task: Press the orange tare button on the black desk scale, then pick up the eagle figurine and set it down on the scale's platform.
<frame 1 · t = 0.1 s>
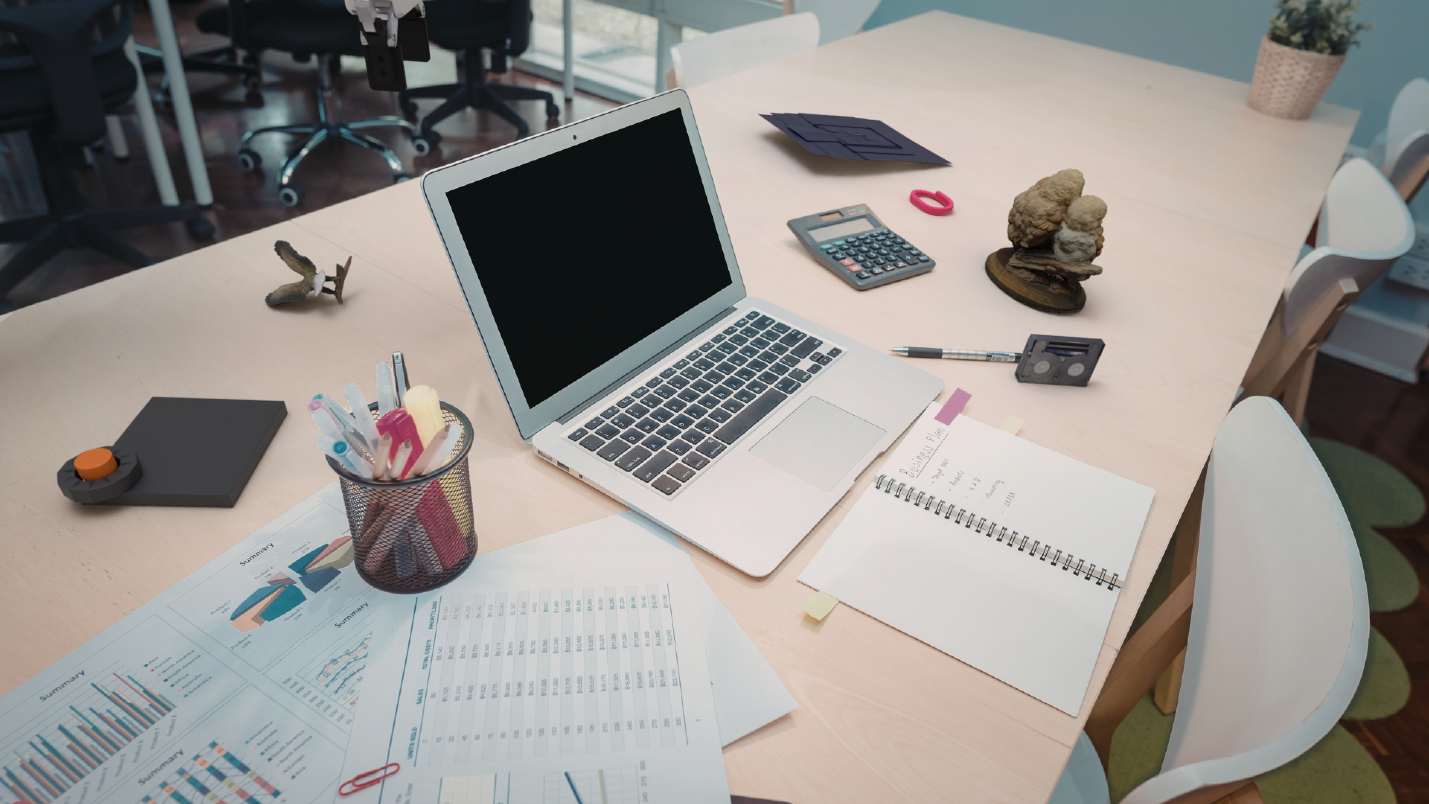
hand: (402, 74, 78), 27 cm above the table, tool pointing down, fingers open, 9 cm apart
tare button: (96, 464, 67), point 3 cm above the table, slide at 0.2 cm
mini dv tape: (1049, 382, 95), on the table
eagle figurine: (310, 300, 96), on the table
navy patterned tile: (849, 150, 152), on the table
scale: (193, 456, 73), on the table
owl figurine: (1034, 287, 114), on the table
fitness band: (930, 206, 134), on the table
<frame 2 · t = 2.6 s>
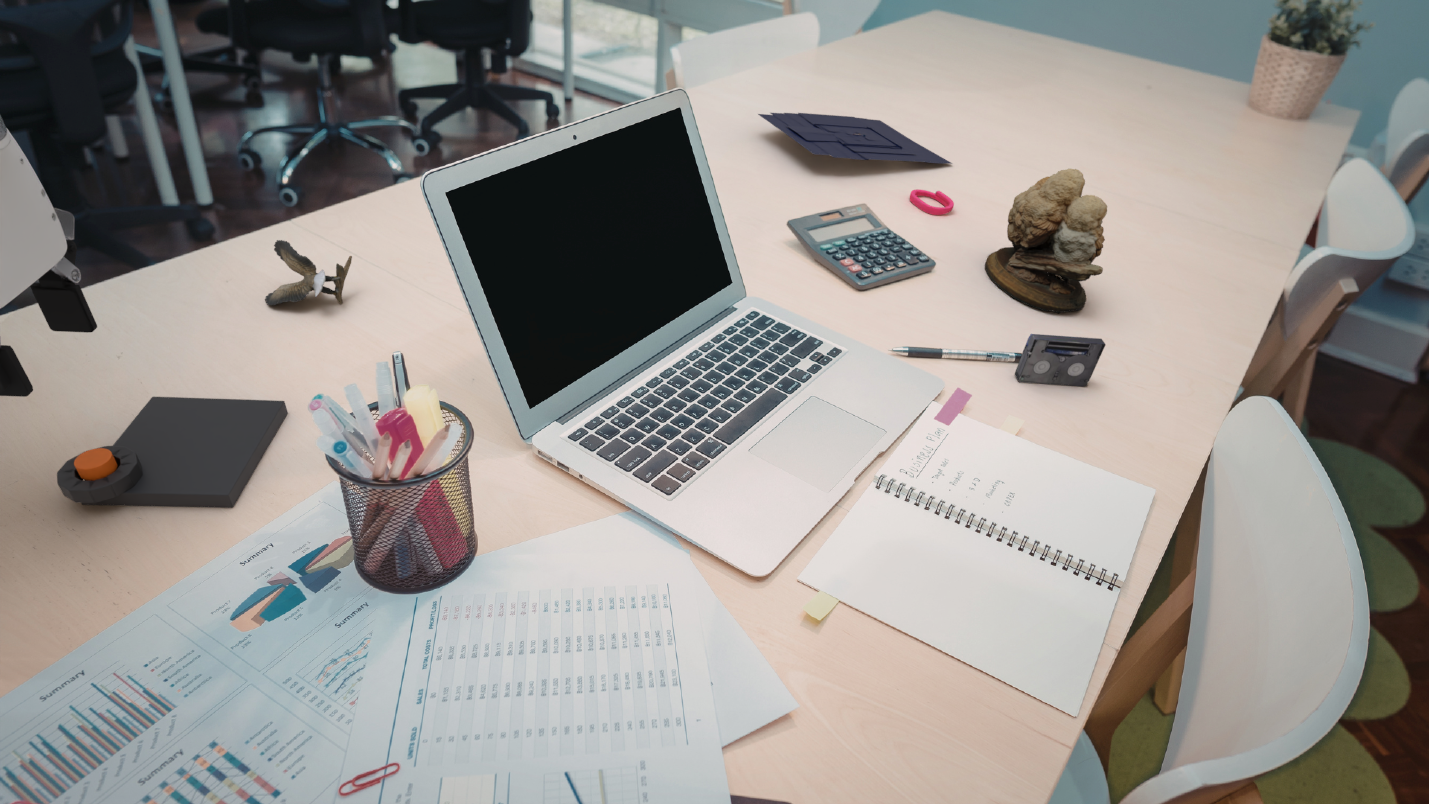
hand: (43, 358, 60), 14 cm above the table, tool pointing down, fingers open, 7 cm apart
nothing on the table moved.
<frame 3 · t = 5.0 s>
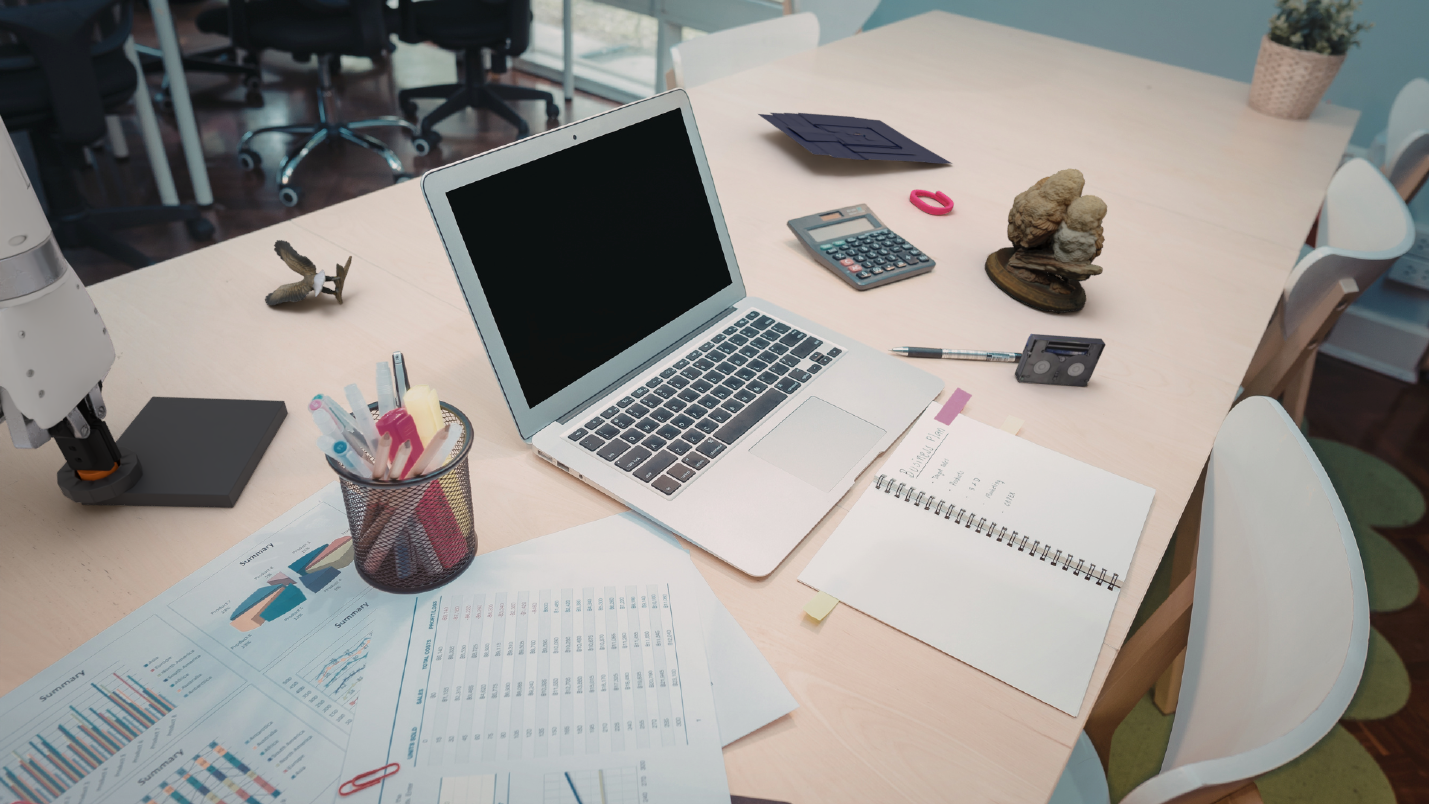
hand: (97, 463, 67), 3 cm above the table, tool pointing down, fingers closed
tare button: (98, 469, 67), point 3 cm above the table, slide at -0.4 cm, touching gripper
everything else where it was.
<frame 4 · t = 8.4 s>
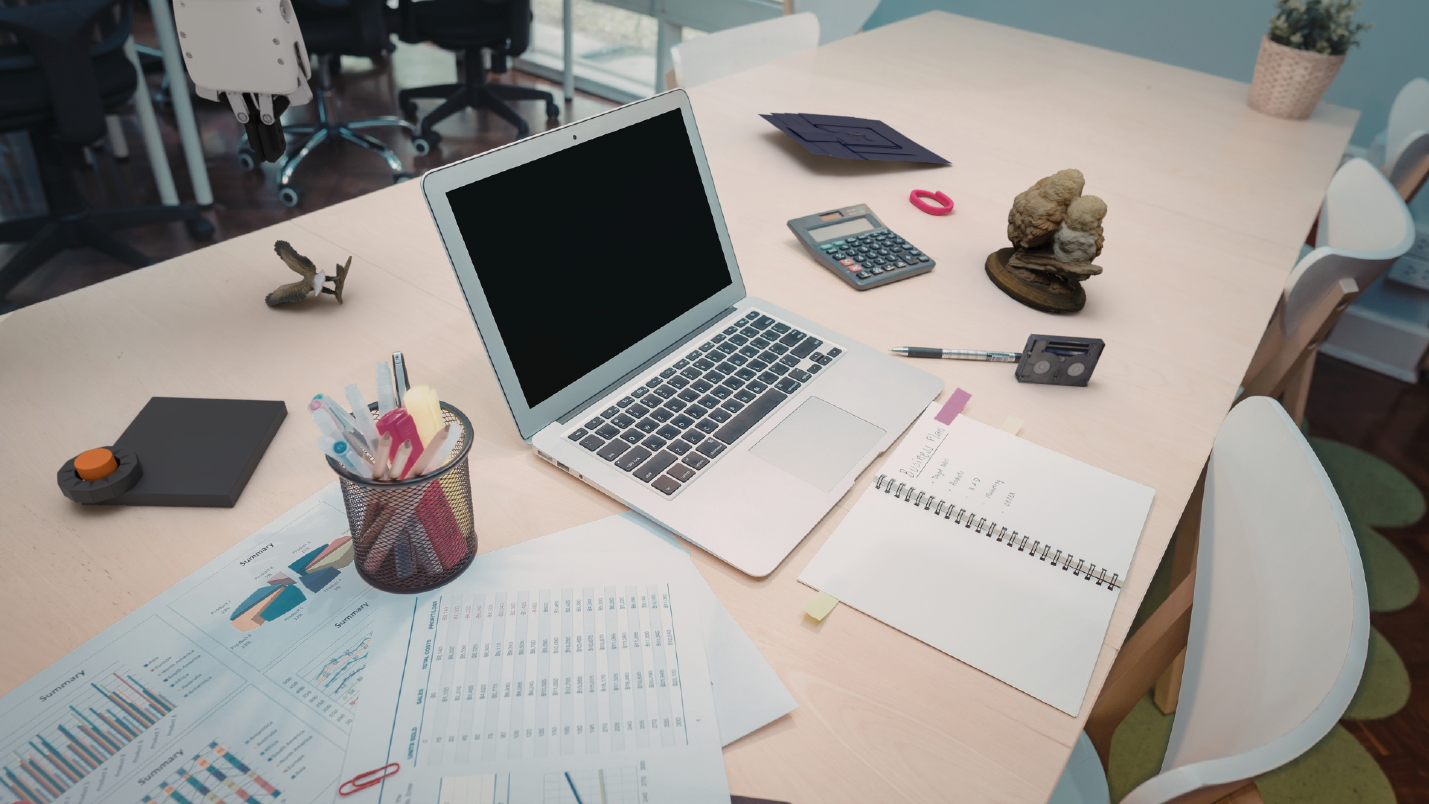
hand: (271, 157, 84), 17 cm above the table, tool pointing down, fingers closed
tare button: (96, 464, 67), point 3 cm above the table, slide at 0.1 cm
everything else where it was.
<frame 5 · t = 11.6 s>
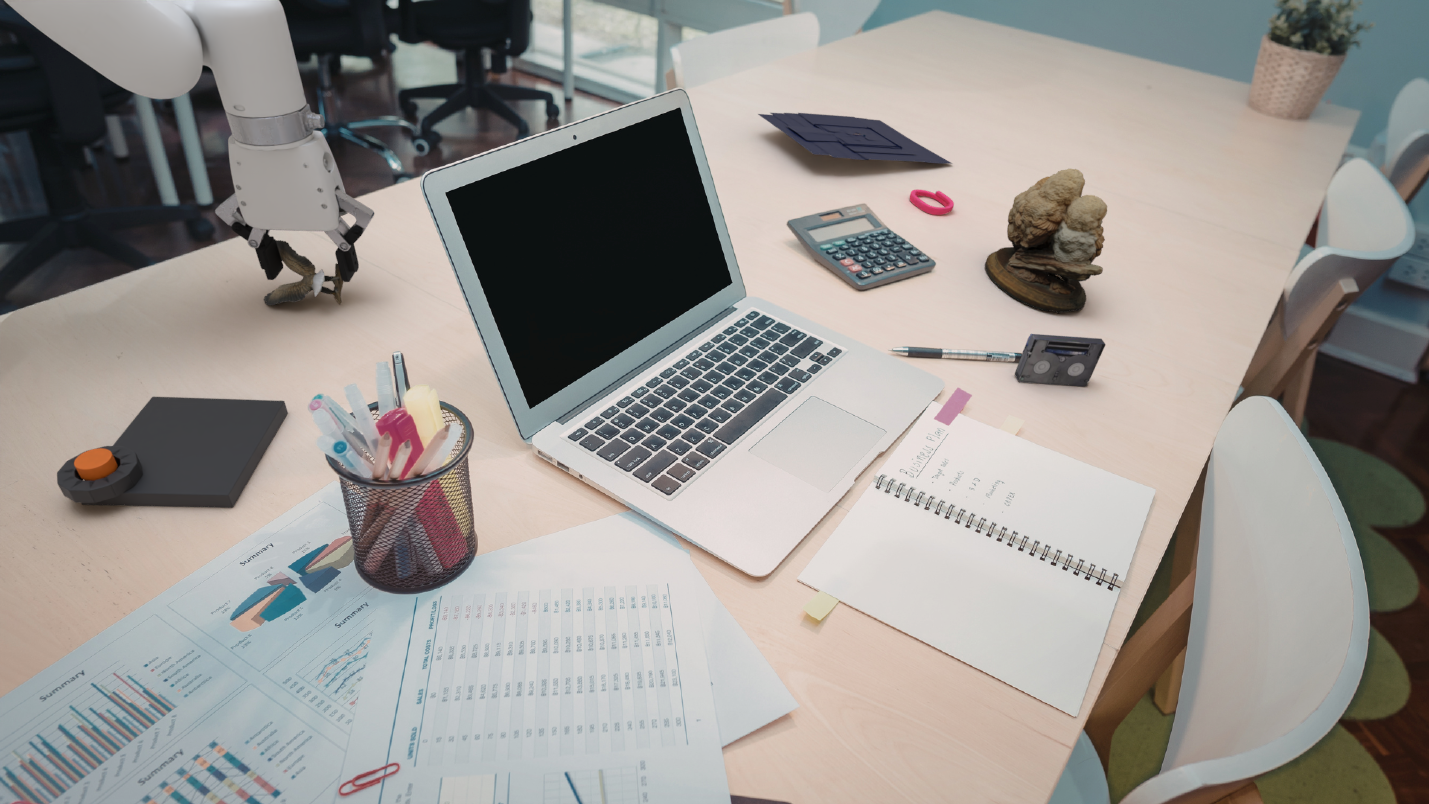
hand: (312, 274, 94), 3 cm above the table, tool pointing down, fingers closed on eagle figurine, 7 cm apart
eagle figurine: (308, 300, 96), on the table, touching gripper
everything else where it was.
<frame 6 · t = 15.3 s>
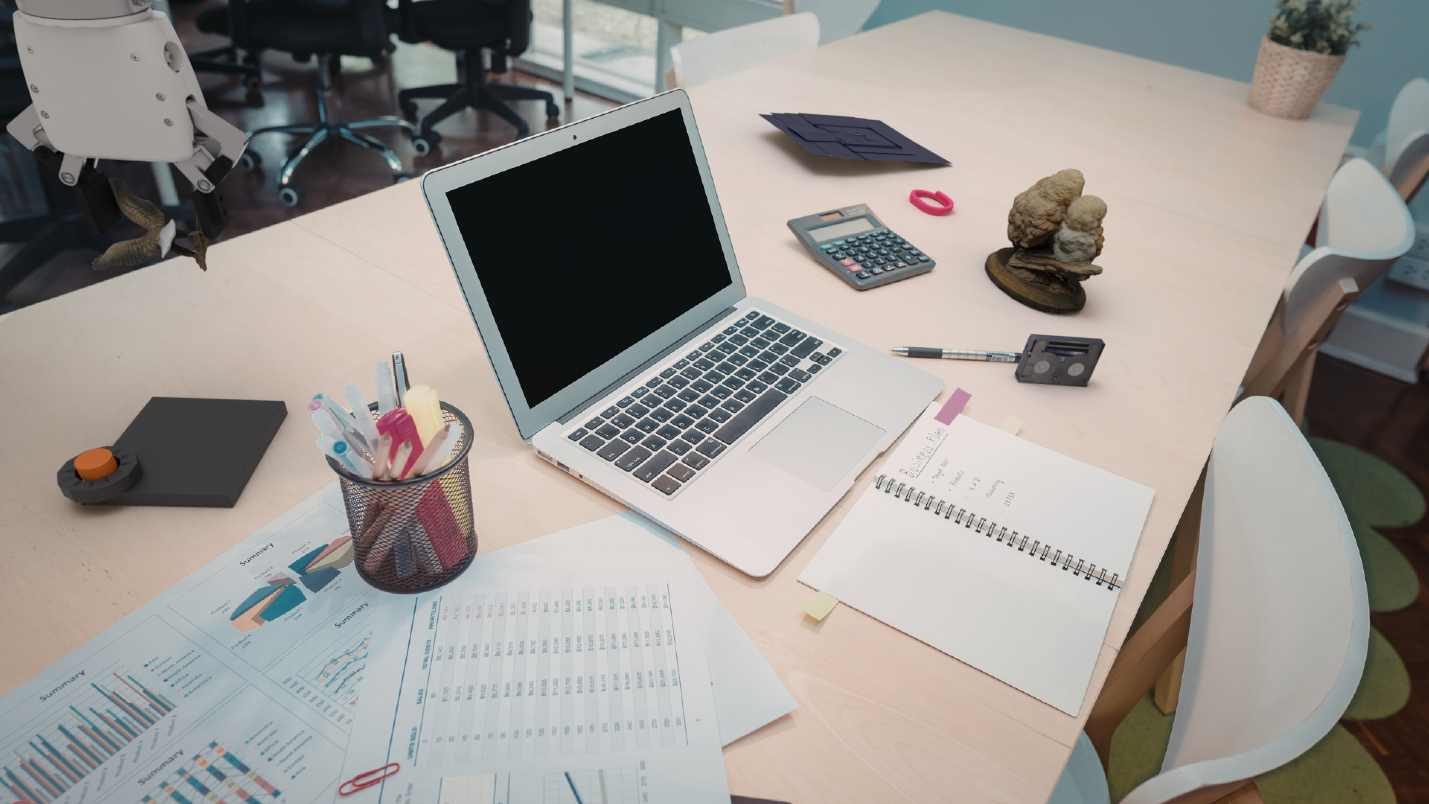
hand: (163, 228, 66), 20 cm above the table, tool pointing down, fingers closed on eagle figurine, 7 cm apart
eagle figurine: (160, 265, 68), point 16 cm above the table, touching gripper
everything else where it was.
when the fingers open (6 cm above the table, at t = 19.4 s): eagle figurine stays where it is, resting on scale.
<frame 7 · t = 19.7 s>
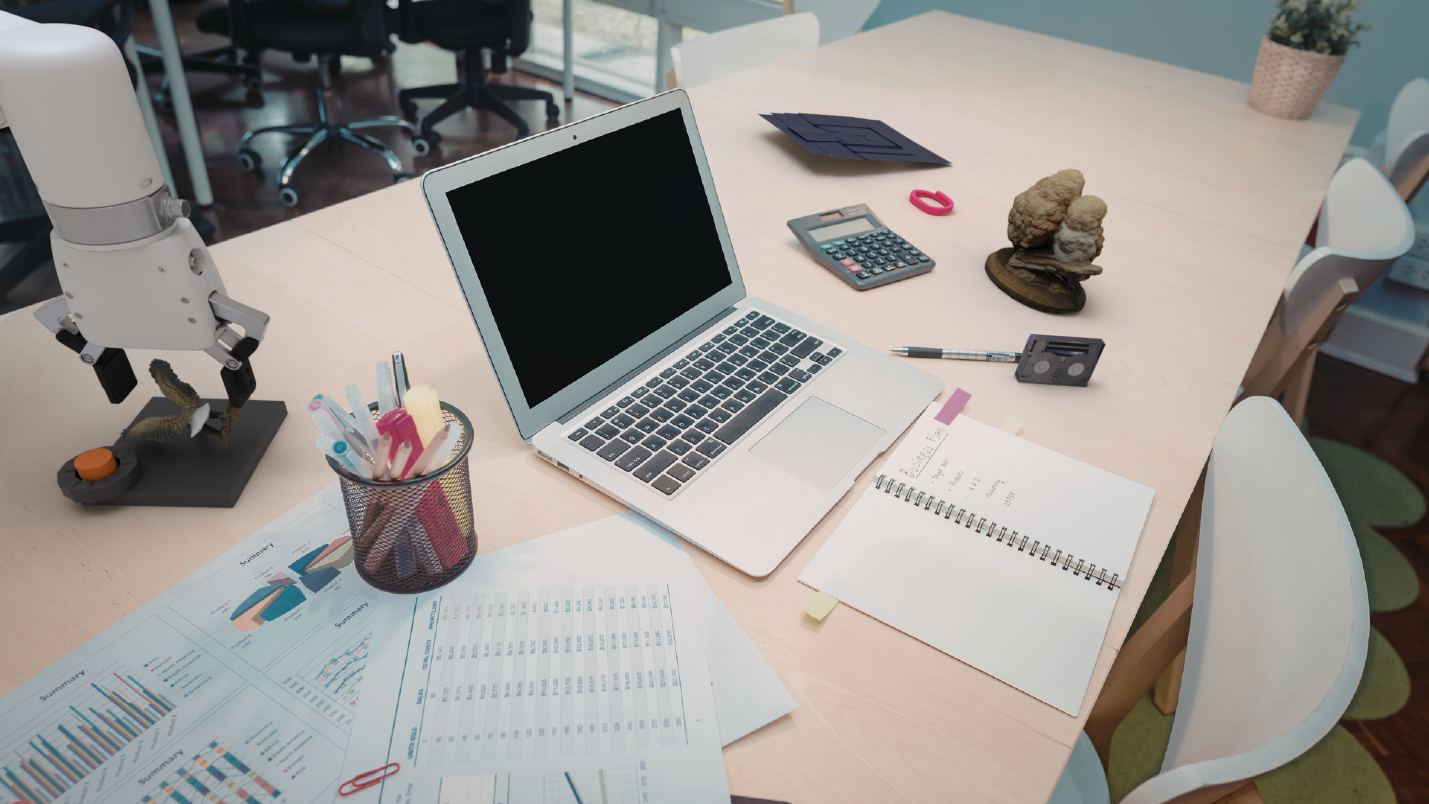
hand: (185, 396, 70), 6 cm above the table, tool pointing down, fingers open, 9 cm apart
eagle figurine: (184, 439, 72), point 2 cm above the table, touching scale
everything else where it was.
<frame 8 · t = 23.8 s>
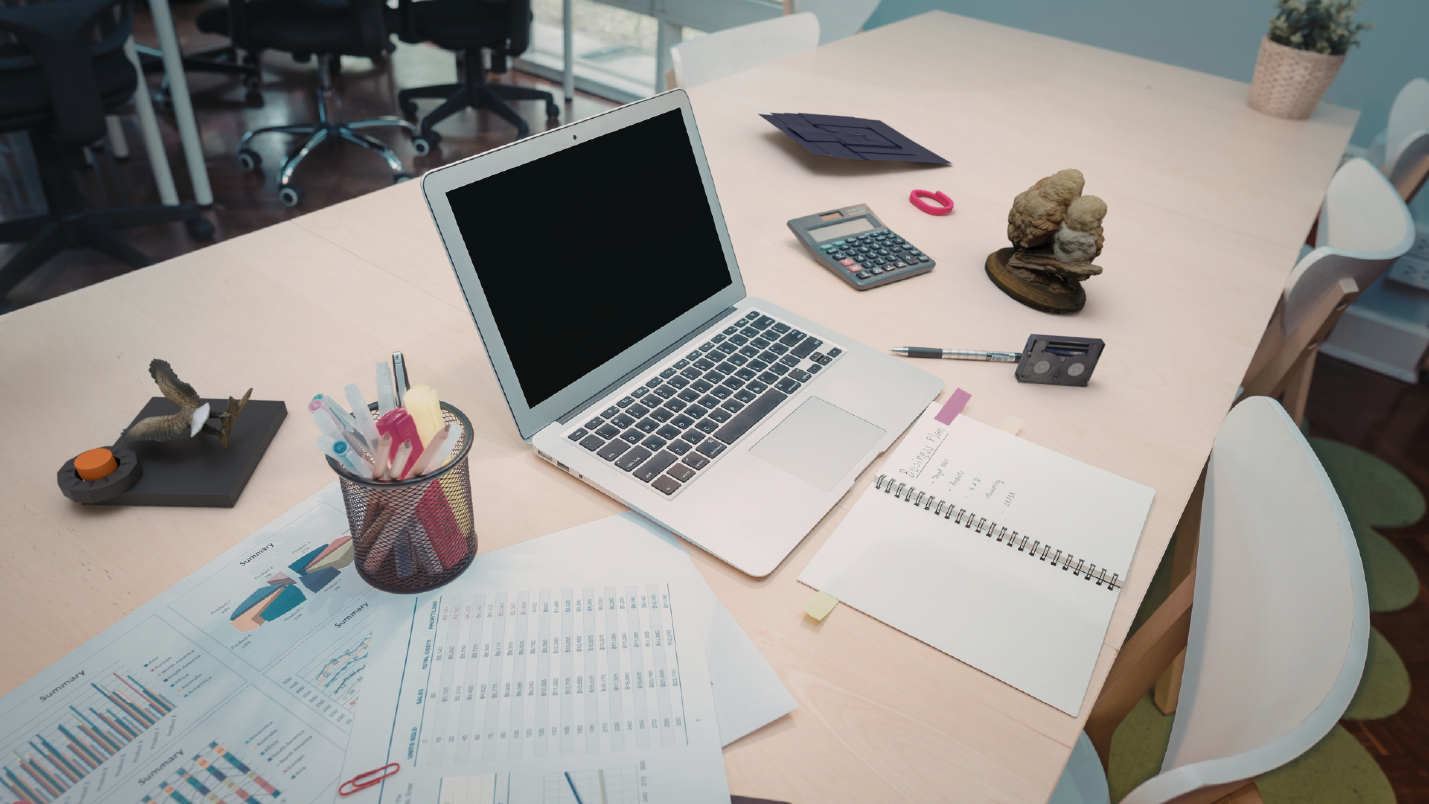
nothing on the table moved.
at the end: tare button pushed in 0.5 cm at the most during the clip, back to where it started at the end; eagle figurine inside the target area on the scale (0.5 cm from its centre), point 1.9 cm above the scale's base; eagle figurine touching scale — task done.
